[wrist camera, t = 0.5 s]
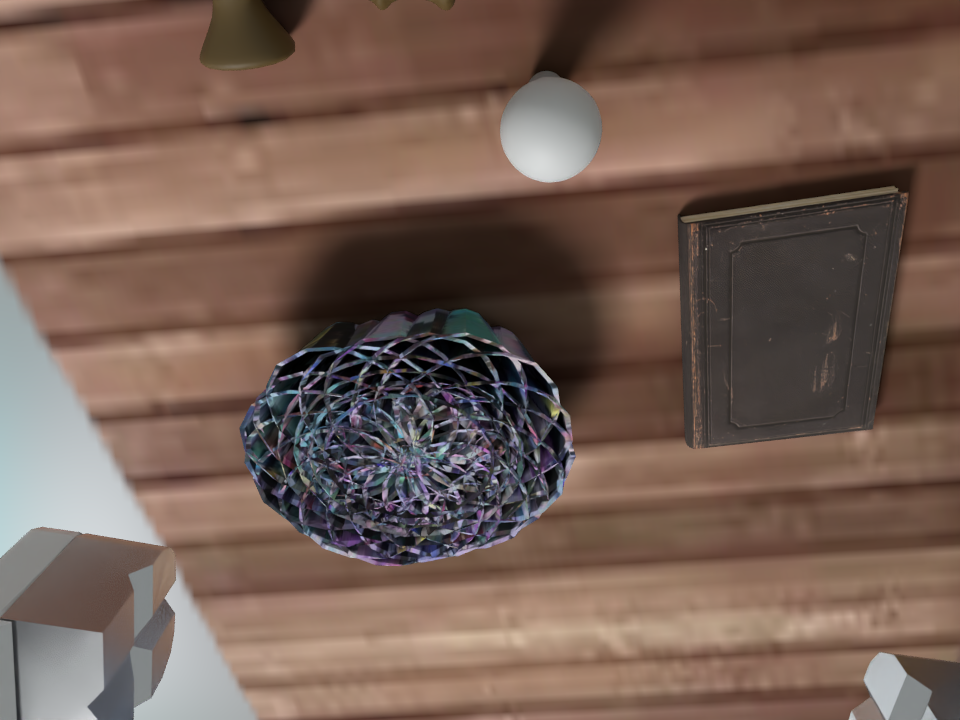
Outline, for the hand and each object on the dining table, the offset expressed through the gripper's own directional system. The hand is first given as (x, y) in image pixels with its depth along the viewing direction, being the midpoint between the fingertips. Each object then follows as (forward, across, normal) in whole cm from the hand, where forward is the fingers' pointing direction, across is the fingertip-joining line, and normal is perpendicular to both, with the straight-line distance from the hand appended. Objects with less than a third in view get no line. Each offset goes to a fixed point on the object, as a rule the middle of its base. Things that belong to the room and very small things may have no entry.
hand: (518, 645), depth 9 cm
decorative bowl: (+60, +5, +22) cm, 64 cm away
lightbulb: (+51, -1, -6) cm, 52 cm away
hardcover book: (+58, -24, +10) cm, 64 cm away
